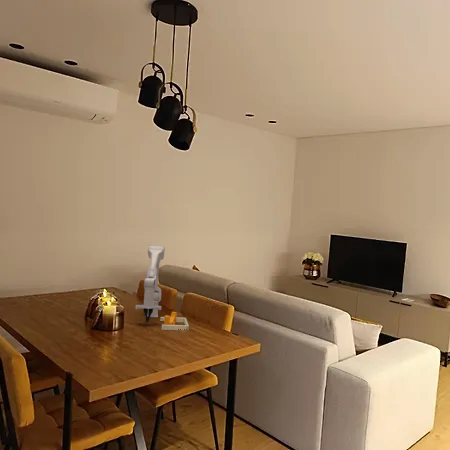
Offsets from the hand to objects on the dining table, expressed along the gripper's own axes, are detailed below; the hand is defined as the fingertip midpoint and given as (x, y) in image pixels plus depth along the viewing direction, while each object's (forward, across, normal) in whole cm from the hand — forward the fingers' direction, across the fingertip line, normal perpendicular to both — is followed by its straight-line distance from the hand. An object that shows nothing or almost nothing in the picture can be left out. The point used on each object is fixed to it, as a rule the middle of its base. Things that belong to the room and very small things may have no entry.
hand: (147, 321), depth 248 cm
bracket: (+2, +15, 0) cm, 15 cm away
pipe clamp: (+2, +14, +1) cm, 14 cm away
